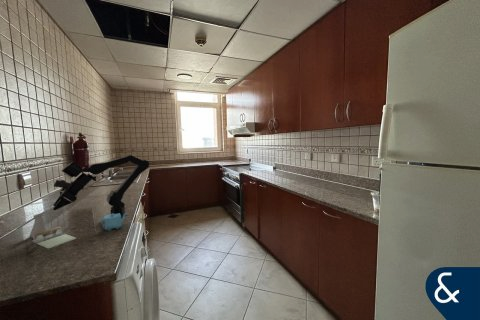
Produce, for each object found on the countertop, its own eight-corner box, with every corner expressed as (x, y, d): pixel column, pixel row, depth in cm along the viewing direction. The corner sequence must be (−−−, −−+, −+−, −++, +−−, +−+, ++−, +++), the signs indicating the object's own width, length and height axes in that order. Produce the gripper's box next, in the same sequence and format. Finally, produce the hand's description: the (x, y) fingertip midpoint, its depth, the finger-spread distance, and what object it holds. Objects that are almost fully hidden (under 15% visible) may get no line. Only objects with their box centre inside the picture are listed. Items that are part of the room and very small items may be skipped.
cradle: (59, 232, 100) (59, 226, 100) (63, 234, 98) (63, 228, 98) (32, 241, 91) (31, 235, 91) (35, 243, 89) (35, 236, 89)
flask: (37, 238, 94) (35, 217, 93) (25, 237, 96) (23, 217, 95) (54, 232, 101) (52, 212, 100) (43, 231, 103) (41, 211, 102)
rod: (59, 229, 99) (59, 226, 99) (60, 229, 98) (60, 226, 98) (34, 236, 91) (33, 233, 91) (35, 237, 90) (35, 234, 90)
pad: (65, 234, 97) (65, 234, 97) (76, 238, 93) (76, 237, 93) (37, 244, 89) (37, 243, 88) (48, 248, 84) (48, 247, 84)
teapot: (127, 223, 110) (126, 209, 110) (129, 226, 106) (128, 212, 105) (101, 229, 104) (100, 214, 103) (101, 233, 99) (100, 218, 98)
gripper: (64, 172, 111) (38, 195, 104) (65, 175, 97) (35, 202, 90) (83, 184, 116) (59, 207, 110) (87, 188, 103) (60, 215, 96)
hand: (53, 207), depth 101 cm, fingers open, 9 cm apart
